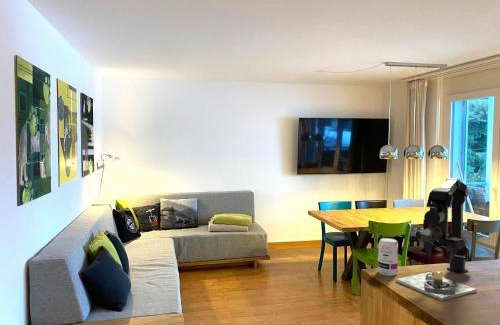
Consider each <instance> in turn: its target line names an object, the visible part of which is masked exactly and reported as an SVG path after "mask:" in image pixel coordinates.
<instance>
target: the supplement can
mask: <svg viewBox="0 0 500 325" xmlns="http://www.w3.org/2000/svg"><path fill="white" fill-rule="evenodd" d="M377 247H378V251H377V254H378V255H377V257H378V258H377V261H378V262H377V271H378V273H379V275H382V276H386V277H387V276H388V277H393V276H396V275H397V274H398V267H399V266H398V263H399V260H398V259H399V243H398V240H396V239H395V238H388V237H387V238H386V237H385V238H384V237H383V238H380V239H379V242H378V246H377Z"/></svg>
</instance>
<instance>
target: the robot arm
mask: <svg viewBox="0 0 500 325" xmlns="http://www.w3.org/2000/svg"><path fill="white" fill-rule="evenodd" d="M468 197H469V187H468V185H467V184H465V182H462V181H461V179H460V178H455V177H454V178H452V177H448V178H446V179H445V182H444V183H443V184H442V185H441V186H440V187H436V188H435V187H434V188H433V189H431V191H429V194H428V199H427V203H426V208H429V210H427V211H426V212H425V213H424V216H423V219H424V222H425V223H426V224H427V225H428V227H427V228H425V229H422V230H417V231H416V232H415V234H414V235H415V237H414V238H416V239H417V240H418V241H419V242H420V243H421V244H422V245H423V247H424V251H425V254H426V257H427V258H430V257H431V254H432V247H433V243H434V241H438V242H442V243H445V245H446V246H445V251H446V257H447V258H446V262H447V263H446V264H448V265H449V267H447V268H446V270H448V271H452V272H454V273H457V274H461V273H465V272H469V270H468V269H466V261H467V260H470V259H471V253H470V249H469V246H468V241H467V240H466V238H465V236H464V230H463V229H464V203H466V201H467V198H468ZM450 208H451V224H450V223H449V209H450ZM450 227H451V236H450V234H449V233H448V228H450Z"/></svg>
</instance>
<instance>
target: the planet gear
mask: <svg viewBox="0 0 500 325" xmlns="http://www.w3.org/2000/svg"><path fill="white" fill-rule="evenodd" d="M433 272H434V281H430V282H429V285H430V286H433V287H437V288H447V284H445V282H443V277H444V273H443V271H440V270H434V271H433Z"/></svg>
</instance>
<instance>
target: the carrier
mask: <svg viewBox="0 0 500 325" xmlns="http://www.w3.org/2000/svg"><path fill="white" fill-rule="evenodd" d="M430 281H434V271H433V272H429V271H428V272H424V273H418V274H414V275H408V276H405V277H404V276H403V277H399V278H396V279H395V282H396V283H397V284H400V285H403V286H405V287H408V288H409V289H412V290H414V291H418V292H420V293H422V294H424V295H427V296H429V297H431V298H433V299H436V300H438V301H440V302H444V301H446V300H451V299H454V298H455V299H456V298H458V297H459V298H460V297H462V296H466V295H470V294H474V293H477V290H478V289H477V288H475V287H472V286H469V285H466V284H463V283H461V282H458V281H455V280H452V279H450V278H446V277H444V276H443V282H445V284H447V288H437V287H433V286H430V285H429V282H430Z"/></svg>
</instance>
